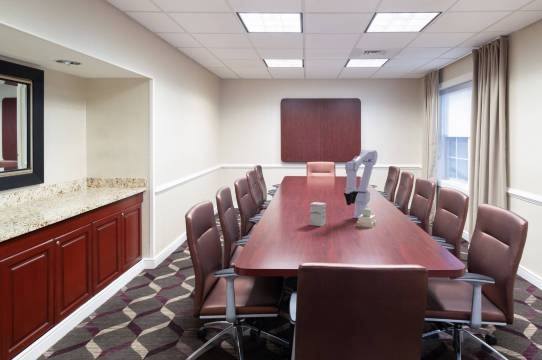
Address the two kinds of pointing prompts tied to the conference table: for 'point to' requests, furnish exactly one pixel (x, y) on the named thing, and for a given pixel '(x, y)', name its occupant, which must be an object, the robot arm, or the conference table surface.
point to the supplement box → (317, 213)
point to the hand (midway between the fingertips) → (350, 204)
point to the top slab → (366, 219)
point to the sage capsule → (366, 212)
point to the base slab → (366, 224)
